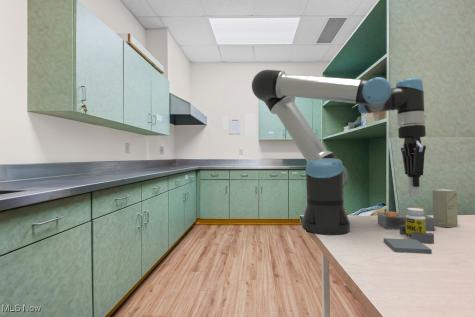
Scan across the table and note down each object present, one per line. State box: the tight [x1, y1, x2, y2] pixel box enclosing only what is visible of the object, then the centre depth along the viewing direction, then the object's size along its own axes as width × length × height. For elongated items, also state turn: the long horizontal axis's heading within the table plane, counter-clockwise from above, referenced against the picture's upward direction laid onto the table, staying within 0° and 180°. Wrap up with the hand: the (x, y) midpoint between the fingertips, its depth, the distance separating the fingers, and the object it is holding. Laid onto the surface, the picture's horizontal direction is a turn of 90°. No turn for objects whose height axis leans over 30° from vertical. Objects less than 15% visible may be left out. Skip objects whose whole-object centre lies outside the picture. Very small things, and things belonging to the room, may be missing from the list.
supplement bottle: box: [405, 207, 427, 239], centre depth 74 cm, size 5×5×8 cm
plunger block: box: [377, 211, 436, 232], centre depth 86 cm, size 14×8×4 cm, turn 78°
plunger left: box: [385, 210, 397, 216], centre depth 87 cm, size 3×3×4 cm
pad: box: [383, 237, 433, 255], centre depth 66 cm, size 8×8×1 cm
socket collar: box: [399, 225, 435, 245], centre depth 74 cm, size 9×5×2 cm, turn 168°
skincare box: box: [431, 188, 459, 228], centre depth 87 cm, size 6×4×12 cm
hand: (414, 196), depth 85 cm, fingers closed
